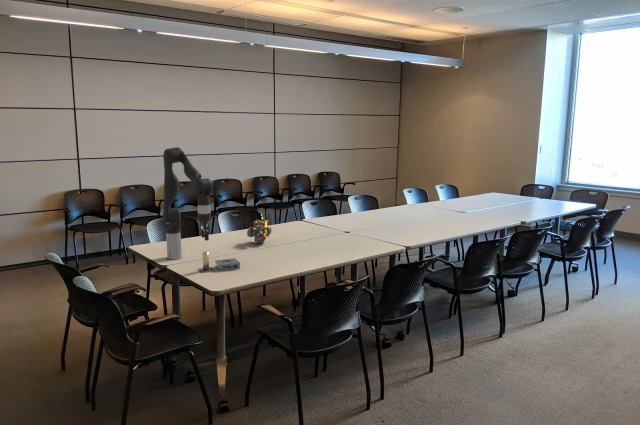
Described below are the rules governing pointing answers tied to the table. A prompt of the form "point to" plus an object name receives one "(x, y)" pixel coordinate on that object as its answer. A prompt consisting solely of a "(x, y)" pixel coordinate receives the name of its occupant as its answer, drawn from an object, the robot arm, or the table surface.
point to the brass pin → (205, 261)
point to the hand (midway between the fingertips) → (205, 238)
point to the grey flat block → (227, 264)
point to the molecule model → (256, 231)
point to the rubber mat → (206, 271)
